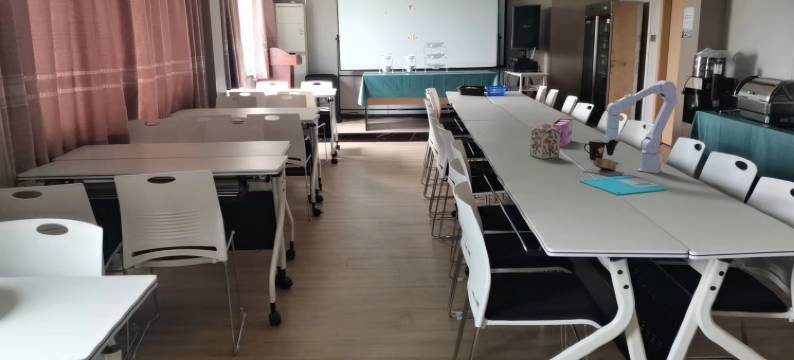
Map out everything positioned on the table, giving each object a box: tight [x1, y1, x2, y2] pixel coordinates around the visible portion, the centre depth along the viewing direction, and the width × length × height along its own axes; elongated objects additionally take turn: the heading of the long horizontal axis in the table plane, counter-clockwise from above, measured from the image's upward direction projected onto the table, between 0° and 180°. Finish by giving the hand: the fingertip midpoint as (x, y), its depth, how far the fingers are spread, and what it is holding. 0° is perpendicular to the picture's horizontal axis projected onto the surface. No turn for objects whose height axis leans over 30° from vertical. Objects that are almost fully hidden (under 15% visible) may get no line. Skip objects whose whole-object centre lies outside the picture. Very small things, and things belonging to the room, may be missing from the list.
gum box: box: [552, 118, 574, 147], centre depth 374 cm, size 24×8×14 cm, turn 154°
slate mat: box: [582, 167, 624, 177], centre depth 299 cm, size 16×10×1 cm, turn 50°
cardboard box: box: [594, 158, 618, 171], centre depth 300 cm, size 7×4×10 cm
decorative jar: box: [529, 122, 561, 160], centre depth 334 cm, size 12×12×18 cm
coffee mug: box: [583, 138, 606, 161], centre depth 329 cm, size 12×9×10 cm
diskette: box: [579, 175, 667, 196], centre depth 274 cm, size 26×28×1 cm
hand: (610, 155), depth 302 cm, fingers closed
